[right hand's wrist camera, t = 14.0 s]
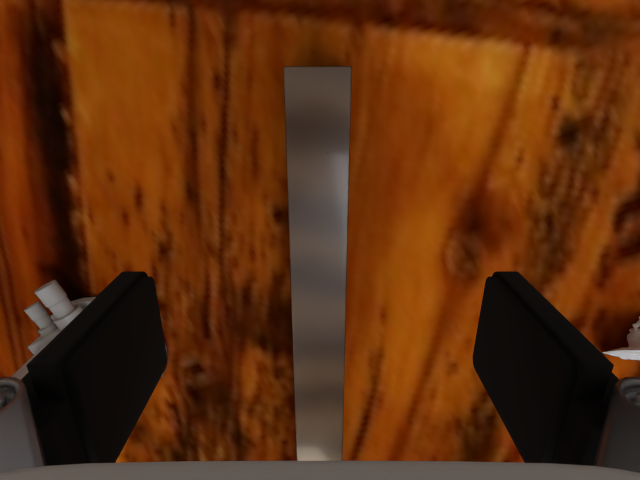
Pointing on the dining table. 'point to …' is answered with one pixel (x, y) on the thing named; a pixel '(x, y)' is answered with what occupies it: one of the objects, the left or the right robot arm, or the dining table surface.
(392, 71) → the dining table surface
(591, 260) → the dining table surface
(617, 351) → the seashell
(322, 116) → the beam
